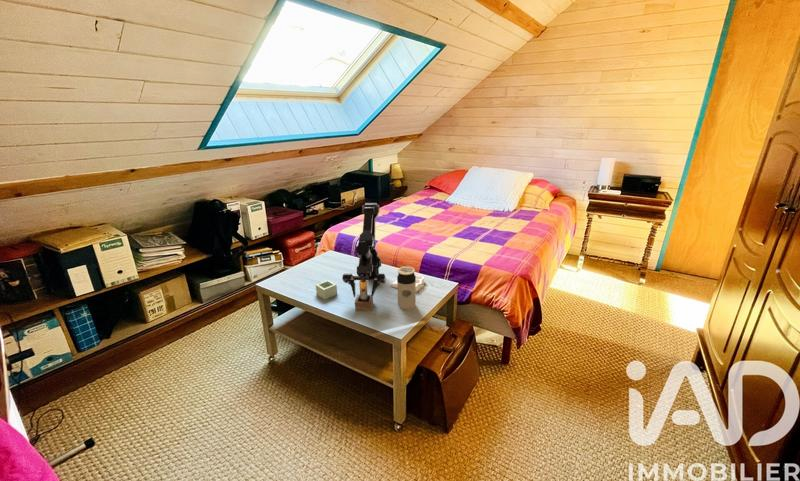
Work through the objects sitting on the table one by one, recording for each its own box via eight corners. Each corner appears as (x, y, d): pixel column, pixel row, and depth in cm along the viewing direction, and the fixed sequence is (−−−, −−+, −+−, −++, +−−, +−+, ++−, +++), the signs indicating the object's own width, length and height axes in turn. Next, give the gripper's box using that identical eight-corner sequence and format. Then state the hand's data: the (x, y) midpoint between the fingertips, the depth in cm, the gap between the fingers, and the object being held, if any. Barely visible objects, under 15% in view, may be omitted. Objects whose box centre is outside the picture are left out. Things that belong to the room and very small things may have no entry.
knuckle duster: (406, 276, 190) (430, 284, 182) (386, 291, 177) (410, 299, 169) (406, 271, 189) (430, 278, 181) (385, 285, 175) (410, 293, 167)
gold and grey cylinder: (366, 304, 163) (365, 279, 159) (368, 307, 160) (367, 282, 156) (359, 305, 162) (358, 280, 158) (361, 309, 159) (360, 283, 155)
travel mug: (400, 300, 167) (400, 265, 161) (417, 302, 165) (417, 267, 159) (395, 309, 160) (394, 273, 154) (413, 312, 158) (412, 275, 152)
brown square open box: (357, 304, 165) (357, 294, 163) (373, 304, 165) (372, 294, 163) (355, 312, 159) (354, 302, 157) (371, 312, 158) (370, 302, 156)
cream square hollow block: (329, 290, 177) (328, 279, 175) (337, 295, 173) (336, 284, 170) (316, 295, 173) (315, 284, 171) (324, 301, 168) (323, 289, 166)
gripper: (341, 257, 157) (338, 292, 151) (384, 257, 156) (382, 292, 150) (346, 265, 167) (343, 298, 161) (386, 265, 167) (385, 299, 160)
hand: (363, 297), depth 158 cm, fingers open, 7 cm apart
